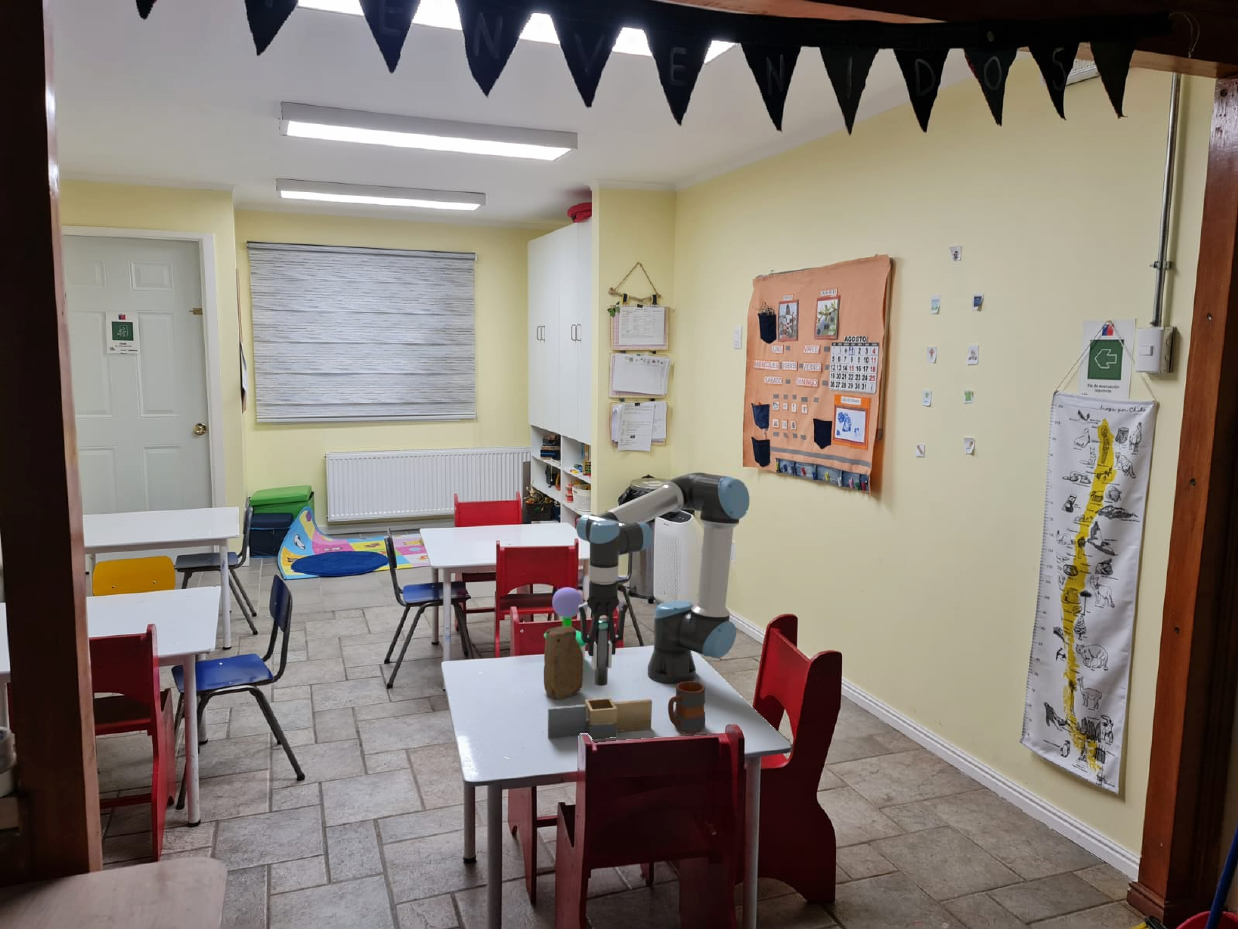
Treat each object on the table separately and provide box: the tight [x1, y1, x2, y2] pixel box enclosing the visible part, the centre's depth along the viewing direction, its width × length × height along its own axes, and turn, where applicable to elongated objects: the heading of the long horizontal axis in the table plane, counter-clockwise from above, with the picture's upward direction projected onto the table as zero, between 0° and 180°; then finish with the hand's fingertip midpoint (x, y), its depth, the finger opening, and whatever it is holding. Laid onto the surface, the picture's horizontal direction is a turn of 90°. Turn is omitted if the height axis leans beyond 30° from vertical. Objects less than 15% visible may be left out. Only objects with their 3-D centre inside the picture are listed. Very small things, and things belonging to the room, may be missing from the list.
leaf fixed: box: [547, 704, 618, 741], centre depth 227 cm, size 18×7×8 cm, turn 104°
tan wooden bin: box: [584, 697, 653, 732], centre depth 229 cm, size 18×7×8 cm, turn 104°
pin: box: [594, 618, 610, 687], centre depth 225 cm, size 3×3×17 cm
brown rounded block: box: [543, 625, 584, 699], centre depth 252 cm, size 11×8×20 cm
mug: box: [667, 680, 706, 734], centre depth 232 cm, size 9×12×12 cm
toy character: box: [543, 586, 589, 660], centre depth 276 cm, size 15×12×25 cm
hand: (601, 666), depth 226 cm, fingers closed on pin, 3 cm apart
